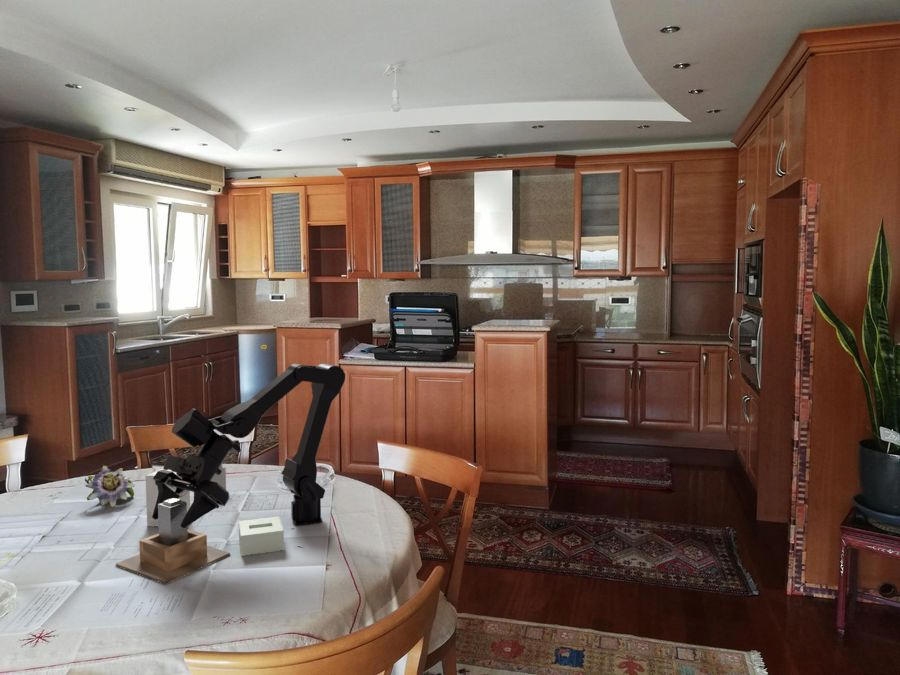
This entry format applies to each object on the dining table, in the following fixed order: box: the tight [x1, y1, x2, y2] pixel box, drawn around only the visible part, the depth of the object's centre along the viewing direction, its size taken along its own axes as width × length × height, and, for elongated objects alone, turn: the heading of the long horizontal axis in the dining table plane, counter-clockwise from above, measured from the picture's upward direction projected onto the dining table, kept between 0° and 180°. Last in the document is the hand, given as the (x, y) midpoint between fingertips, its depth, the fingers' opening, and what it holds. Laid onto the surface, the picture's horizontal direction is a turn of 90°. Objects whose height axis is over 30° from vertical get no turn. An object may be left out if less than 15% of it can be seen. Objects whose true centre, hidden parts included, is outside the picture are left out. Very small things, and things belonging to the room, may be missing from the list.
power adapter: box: [211, 464, 227, 491], centre depth 183 cm, size 3×5×12 cm, turn 135°
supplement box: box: [145, 467, 191, 528], centre depth 161 cm, size 7×7×13 cm
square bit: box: [158, 498, 188, 547], centre depth 140 cm, size 4×4×13 cm
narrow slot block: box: [238, 516, 285, 557], centre depth 148 cm, size 9×9×4 cm
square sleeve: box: [115, 528, 231, 585], centre depth 140 cm, size 16×16×5 cm
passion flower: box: [84, 465, 135, 508], centre depth 175 cm, size 11×11×12 cm
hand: (167, 522), depth 138 cm, fingers open, 9 cm apart
